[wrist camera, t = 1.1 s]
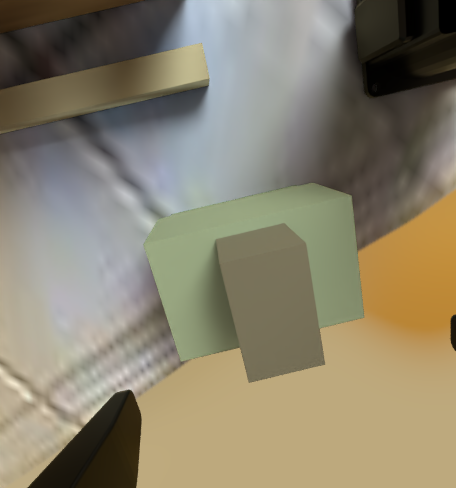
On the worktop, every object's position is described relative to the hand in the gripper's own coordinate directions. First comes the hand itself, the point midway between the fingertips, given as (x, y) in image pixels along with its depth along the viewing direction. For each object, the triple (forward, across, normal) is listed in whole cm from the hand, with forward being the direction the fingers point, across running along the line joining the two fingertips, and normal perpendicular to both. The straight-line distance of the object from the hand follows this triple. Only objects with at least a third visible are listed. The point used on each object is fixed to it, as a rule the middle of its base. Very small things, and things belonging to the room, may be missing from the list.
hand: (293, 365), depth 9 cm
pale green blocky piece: (+13, 0, 0) cm, 13 cm away
